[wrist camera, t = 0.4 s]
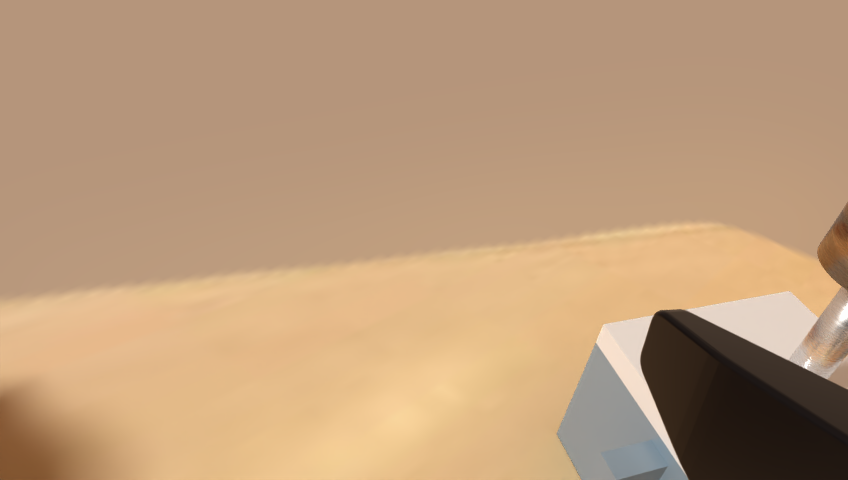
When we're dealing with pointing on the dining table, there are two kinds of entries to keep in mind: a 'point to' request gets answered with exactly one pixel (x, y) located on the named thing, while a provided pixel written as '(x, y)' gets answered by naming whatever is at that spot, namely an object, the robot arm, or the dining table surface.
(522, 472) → the dining table surface
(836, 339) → the joystick lever
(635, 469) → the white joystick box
